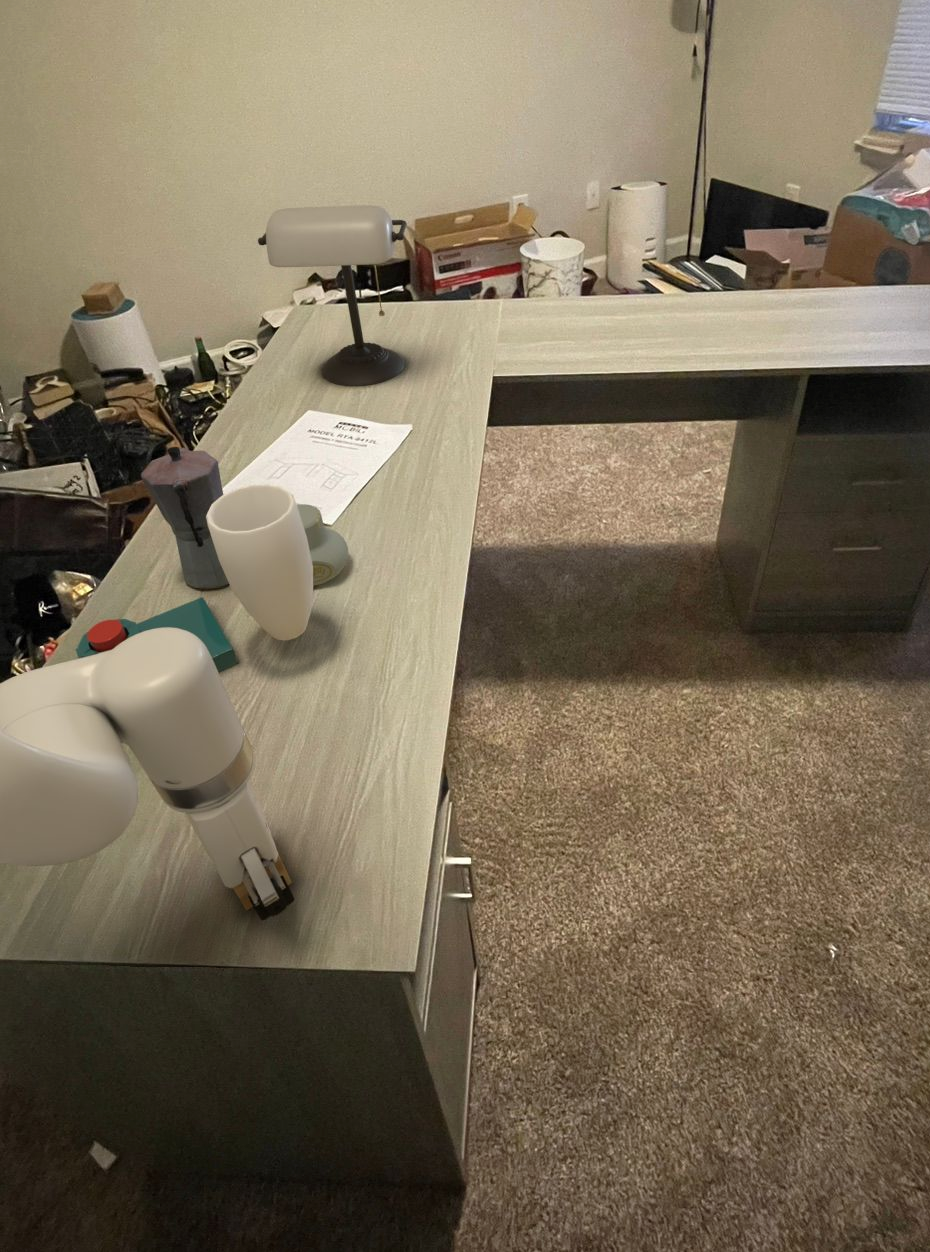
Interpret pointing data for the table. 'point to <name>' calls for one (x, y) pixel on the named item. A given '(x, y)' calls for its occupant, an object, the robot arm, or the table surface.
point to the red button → (106, 635)
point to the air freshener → (323, 545)
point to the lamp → (342, 243)
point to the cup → (265, 556)
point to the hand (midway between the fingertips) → (258, 867)
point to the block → (243, 891)
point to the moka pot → (189, 510)
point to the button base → (187, 618)
